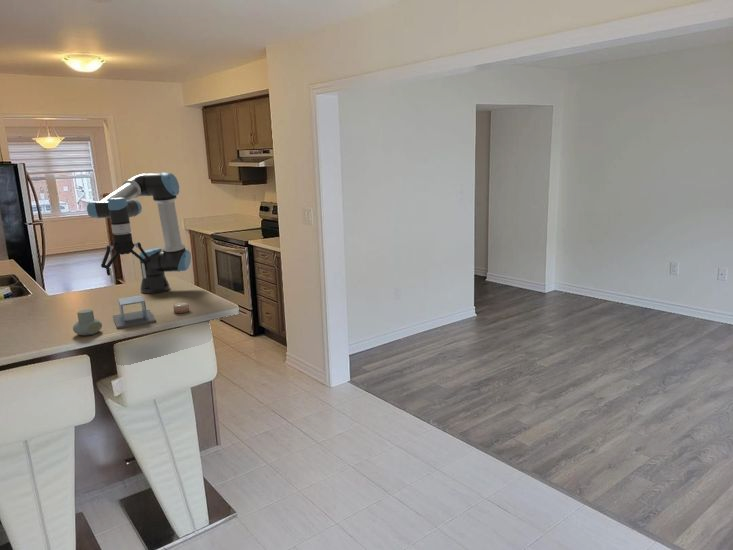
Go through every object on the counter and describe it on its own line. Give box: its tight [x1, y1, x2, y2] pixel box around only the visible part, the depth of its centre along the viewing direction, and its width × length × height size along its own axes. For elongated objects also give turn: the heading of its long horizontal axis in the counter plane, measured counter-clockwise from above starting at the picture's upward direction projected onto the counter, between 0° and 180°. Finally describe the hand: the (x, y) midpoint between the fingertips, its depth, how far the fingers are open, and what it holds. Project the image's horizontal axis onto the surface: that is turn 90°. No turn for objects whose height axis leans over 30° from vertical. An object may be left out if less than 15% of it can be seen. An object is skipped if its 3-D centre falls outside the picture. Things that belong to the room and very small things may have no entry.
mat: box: [112, 309, 157, 330], centre depth 238 cm, size 20×16×1 cm
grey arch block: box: [117, 294, 147, 323], centre depth 237 cm, size 12×10×9 cm
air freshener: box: [72, 308, 103, 336], centre depth 221 cm, size 11×8×10 cm
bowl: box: [172, 302, 190, 314], centre depth 248 cm, size 7×7×4 cm
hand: (128, 280), depth 234 cm, fingers open, 13 cm apart
